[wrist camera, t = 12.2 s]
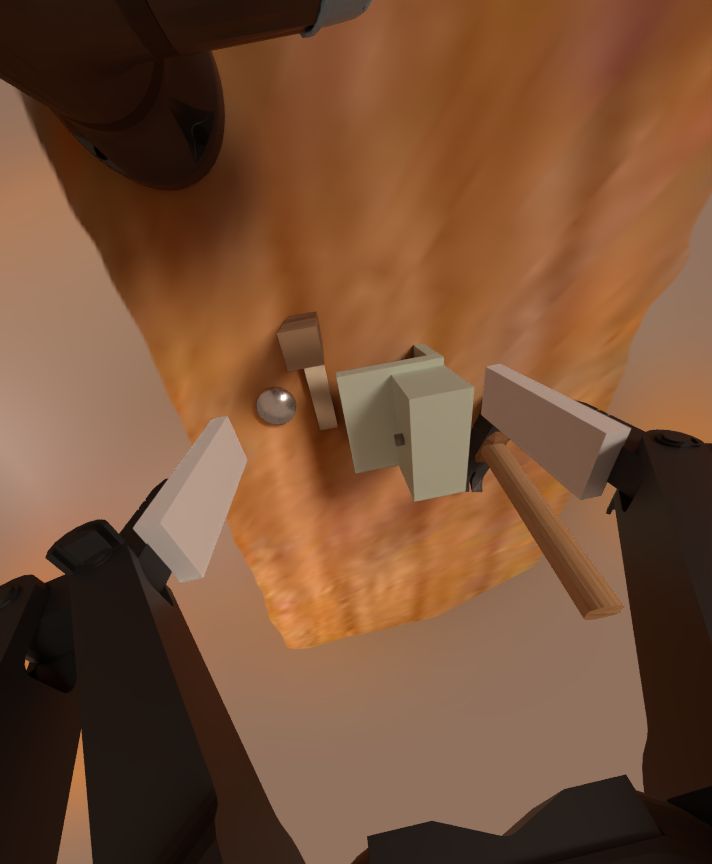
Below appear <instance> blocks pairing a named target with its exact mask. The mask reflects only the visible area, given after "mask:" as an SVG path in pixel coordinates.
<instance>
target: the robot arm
mask: <svg viewBox="0 0 712 864" xmlns="http://www.w3.org/2000/svg"><path fill="white" fill-rule="evenodd" d="M371 1H372V0H0V78H1V79H3V80H4V81H6V82H8V83H9V84H11V85H12V86H14V87H16V88H17V89H19V90H21V91H22V92H24V93H26V94H27V95H29V96H31V97H32V98H34V99H36V100H37V101H39V102H41V103H42V104H44V105H46V106H47V107H49V108H50V109H51V110H52V111H53V112H54V114H55V115H56V116H57V117H58V118H59V119H60V121H61V122H62V123H63V124H64V125H65V126H66V128H67V129H68V130H69V131H70V132H71V133H72V135H73V136H74V137H75V138H76V139H77V140H78V141H79V142H80V143H81V144H82V145H83V146H84V147H85V148H86V149H87V150H88V151H89V152H91V153H92V154H93V155H94V156H95V157H97V158H98V159H99V160H100V161H101V162H103V163H104V164H106V165H107V166H108V167H110V168H111V169H113V170H115V171H116V172H118V173H120V174H122V175H124V176H125V177H127V178H129V179H131V180H133V181H135V182H137V183H140V184H142V185H145V186H148V187H151V188H155V189H161V190H177V189H182V188H185V187H188V186H191V185H193V184H194V183H196V182H198V181H199V180H200V179H202V178H203V177H204V176H205V175H206V174H207V173H208V171H209V170H210V169H211V167H212V166H213V164H214V162H215V160H216V158H217V156H218V153H219V151H220V147H221V144H222V139H223V133H224V123H225V111H224V98H223V91H222V86H221V81H220V77H219V72H218V69H217V66H216V62H215V60H214V57H213V54H212V50H218V49H223V48H228V47H233V46H238V45H243V44H248V43H253V42H258V41H263V40H269V39H274V38H279V37H284V36H289V35H294V34H299V33H300V35H301V36H302V37H303V38H307V37H311V36H314V35H315V34H316V33H317V32H318V31H319V30H320V29H321V28H323V27H327V26H331V25H334V24H338V23H341V22H345V21H349V20H352V19H355V18H357V17H358V16H360V15H361V14H362V13H364V12H365V11H366V9H367V8H368V6H369V5H370V3H371ZM481 415H482V416H483V417H484V418H486V419H487V420H488V421H489V422H490V423H491V424H493V425H494V426H495V427H496V428H497V429H498V430H500V431H501V432H502V433H503V434H504V435H505V436H506V437H508V438H509V439H510V440H511V441H512V442H513V443H515V444H516V445H517V446H518V447H519V448H520V449H522V450H523V451H524V452H525V453H526V454H527V455H529V456H530V457H531V458H532V459H533V460H534V461H536V462H537V463H538V464H539V465H540V466H541V467H542V468H544V469H545V470H546V471H547V472H548V473H549V474H551V475H552V476H553V477H554V478H555V479H556V480H558V481H559V482H560V483H561V484H562V485H563V486H565V487H566V488H567V489H568V490H569V491H570V492H571V493H573V494H574V495H575V496H576V497H577V498H579V499H580V500H583V499H588V498H592V497H597V496H601V495H602V493H603V491H604V488H605V486H606V484H607V482H608V483H610V484H611V485H613V486H614V487H615V488H617V490H616V492H615V494H614V496H613V498H612V500H611V502H610V505H609V507H608V508H607V512H606V513H607V514H611V512H612V510H614V509H615V510H616V518H617V524H618V531H619V538H620V544H621V550H622V557H623V563H624V570H625V577H626V584H627V591H628V597H629V604H630V611H631V617H632V624H633V631H634V637H635V644H636V649H637V650H636V651H637V656H638V664H639V670H640V677H641V684H642V690H643V697H644V703H645V710H646V717H647V726H648V734H647V741H646V745H645V749H644V753H643V764H642V765H643V766H642V771H643V785H644V793H643V792H640V791H636V790H635V788H634V787H633V785H632V783H631V782H630V780H629V779H628V777H627V775H622V776H618V777H613V778H609V779H605V780H601V781H597V782H593V783H588V784H584V785H581V786H576V787H572V788H568V789H564V790H562V791H560V792H559V793H557V794H556V795H554V796H553V797H551V798H550V799H548V800H546V801H544V802H543V803H542V804H540V805H538V806H536V807H535V808H533V809H532V810H531V811H529V812H528V813H527V814H526V815H525V816H524V817H523V818H521V819H520V820H519V821H518V822H517V823H516V824H515V825H513V826H512V827H511V828H510V829H509V830H508V831H507V832H506V833H504V834H503V835H502V836H499V835H495V834H489V833H485V832H481V831H476V830H471V829H467V828H462V827H458V826H453V825H449V824H444V823H439V822H435V821H429V822H425V823H421V824H417V825H413V826H408V827H404V828H400V829H396V830H392V831H387V832H383V833H379V834H375V835H371V836H367V839H368V848H367V849H366V850H365V851H363V852H362V853H361V854H360V855H359V856H357V858H356V859H355V860H354V861H353V862H352V863H351V864H712V444H711V443H709V444H707V443H704V442H703V441H701V440H699V439H697V438H695V437H693V436H690V435H687V434H684V433H681V432H676V431H670V430H650V431H647V432H645V431H643V430H641V429H638V428H636V427H634V426H632V425H630V424H628V423H626V422H624V421H622V420H620V419H618V418H616V417H614V416H612V415H608V414H607V413H605V412H603V411H601V410H598V409H597V408H595V407H593V406H591V405H589V404H587V403H584V402H580V401H576V400H573V399H571V398H569V397H567V396H565V395H563V394H561V393H559V392H557V391H555V390H552V389H550V388H548V387H546V386H544V385H542V384H540V383H538V382H536V381H534V380H532V379H530V378H528V377H526V376H524V375H522V374H520V373H518V372H516V371H514V370H512V369H510V368H508V367H506V366H504V365H502V364H497V365H492V366H487V367H486V371H485V380H484V390H483V400H482V409H481ZM246 463H247V458H246V456H245V454H244V451H243V449H242V447H241V445H240V442H239V440H238V438H237V436H236V434H235V431H234V429H233V427H232V425H231V423H230V420H229V418H228V416H224V417H219V418H213V419H211V421H210V422H209V423H208V425H207V426H206V428H205V429H204V430H203V432H202V433H201V435H200V436H199V437H198V439H197V440H196V441H195V443H194V444H193V446H192V447H191V448H190V450H189V451H188V453H187V454H186V455H185V457H184V458H183V460H182V461H181V462H180V464H179V465H178V466H177V468H176V469H175V470H174V472H173V473H172V475H171V476H170V477H169V478H168V479H165V480H163V481H162V482H161V483H160V484H159V485H157V486H156V487H155V488H154V489H153V490H152V491H151V493H150V494H149V495H148V497H147V498H146V501H144V502H143V503H142V504H141V506H140V507H139V510H137V511H136V512H135V514H134V515H133V516H132V518H131V519H130V521H129V522H128V523H127V524H126V525H125V527H124V528H123V530H122V531H121V532H120V533H119V534H118V533H117V531H116V530H115V529H114V528H113V527H112V526H111V525H110V524H109V523H108V522H107V521H106V520H95V521H91V522H87V523H85V524H83V525H81V526H79V527H76V528H75V529H73V530H72V531H70V532H68V533H67V534H65V535H64V536H63V537H62V538H60V539H59V540H58V541H56V542H55V543H54V545H53V546H52V547H51V548H50V549H49V550H48V552H47V555H46V559H47V560H49V561H50V562H51V563H52V564H54V565H55V566H56V567H57V568H59V569H60V570H61V571H62V572H64V573H65V575H63V576H61V577H58V578H56V579H53V580H51V581H49V582H46V583H44V582H42V581H41V580H39V579H38V578H37V577H35V576H34V575H24V576H21V577H18V578H15V579H13V580H11V581H9V582H7V583H5V584H3V585H1V586H0V864H56V862H57V858H58V852H59V846H60V841H61V835H62V830H63V825H64V819H65V814H66V809H67V803H68V798H69V792H70V787H71V781H72V776H73V770H74V765H75V759H76V754H77V748H78V743H79V738H80V732H81V730H82V741H83V753H84V765H85V776H86V788H87V800H88V810H89V823H90V835H91V847H92V858H93V864H305V862H304V860H303V858H302V856H301V854H300V852H299V850H298V848H297V847H296V845H295V843H294V842H293V840H292V838H291V837H290V835H289V834H288V833H287V832H286V830H285V829H284V828H283V826H282V825H281V823H280V822H279V820H278V818H277V817H276V815H275V813H274V811H273V809H272V807H271V804H270V802H269V800H268V798H267V796H266V794H265V792H264V789H263V787H262V785H261V783H260V781H259V778H258V776H257V774H256V772H255V770H254V768H253V766H252V764H251V761H250V759H249V757H248V755H247V753H246V750H245V748H244V746H243V744H242V742H241V740H240V738H239V735H238V733H237V731H236V729H235V727H234V725H233V722H232V720H231V718H230V716H229V714H228V712H227V709H226V707H225V705H224V703H223V701H222V699H221V697H220V694H219V692H218V690H217V688H216V686H215V684H214V681H213V679H212V677H211V675H210V673H209V671H208V668H207V667H206V664H205V662H204V660H203V658H202V656H201V653H200V651H199V649H198V647H197V645H196V643H195V640H194V638H193V636H192V634H191V632H190V630H189V627H188V626H187V624H186V621H185V619H184V617H183V615H182V612H181V610H180V608H179V606H178V604H177V602H176V599H175V597H174V595H173V593H172V591H171V589H170V588H169V587H168V586H167V585H166V583H167V580H168V579H169V577H170V574H171V573H172V574H173V575H174V576H175V577H176V578H177V579H178V581H179V582H180V583H182V582H186V581H192V580H196V579H201V578H204V575H205V572H206V569H207V567H208V564H209V562H210V559H211V556H212V554H213V551H214V548H215V546H216V543H217V540H218V538H219V535H220V532H221V529H222V527H223V524H224V521H225V519H226V516H227V514H228V511H229V508H230V506H231V503H232V500H233V498H234V495H235V492H236V490H237V487H238V484H239V481H240V479H241V476H242V473H243V471H244V468H245V465H246ZM25 659H26V660H28V661H29V665H28V668H27V670H26V668H25Z"/></svg>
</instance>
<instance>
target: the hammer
mask: <svg viewBox="0 0 712 864" xmlns="http://www.w3.org/2000/svg"><path fill="white" fill-rule="evenodd" d="M509 440H510V439H509V438H508V437H506V436H505V435H504V434H503V433H502V432H501V431H500V430H498V429H497V428H496V427H495V426H494V425H493V424H491V423H490V422H489V421H488V420H487V419H486V418H484V417H483V416H482V415H481V414H480V416H479V418H478V420H477V421H476V423H475V425H474V427H473V429H472V431H471V434H470V445H469V457H468V468H467V480H466V491H465V492H469V482H470V485H471V490H472V492H482V481H483V477H484V475H485V474H486V472H487V471H488V469H489V468H490V469H491V470H492V472H493V473H494V475H495V477H496V478H497V480H498V481H499V483H500V485H501V486H502V488H503V489H504V491H505V493H506V494H507V496H508V498H509V499H510V501H511V502H512V504H513V506H514V507H515V509H516V510H517V512H518V514H519V515H520V517H521V518H522V520H523V522H524V523H525V525H526V526H527V528H528V530H529V531H530V533H531V534H532V536H533V538H534V539H535V541H536V543H537V544H538V546H539V547H540V549H541V551H542V552H543V554H544V555H545V557H546V559H547V560H548V562H549V563H550V565H551V567H552V568H553V570H554V571H555V573H556V575H557V576H558V578H559V579H560V581H561V583H562V584H563V586H564V587H565V589H566V591H567V592H568V594H569V596H570V597H571V599H572V600H573V602H574V604H575V605H576V607H577V608H578V610H579V612H580V613H581V615H582V616H583V618H584V619H586V620H591V619H598V618H603V617H607V616H611V615H614V614H617V613H620V611H621V609H622V608H624V605H623V604H622V602H621V601H620V600H619V598H618V597H617V596H616V594H615V593H614V591H613V590H612V589H611V587H610V586H609V585H608V583H607V582H606V581H605V579H604V578H603V577H602V576H601V574H600V573H599V571H598V570H597V569H596V567H595V566H594V564H593V563H592V562H591V560H590V559H589V558H588V556H587V555H586V554H585V552H584V551H583V550H582V548H581V547H580V546H579V544H578V543H577V541H576V540H575V539H574V537H573V536H572V535H571V534H570V532H569V531H568V530H567V528H566V527H565V526H564V524H563V523H562V521H561V520H560V518H559V517H558V516H557V514H556V513H555V512H554V510H553V509H552V508H551V506H550V505H549V504H548V502H547V501H546V500H545V498H544V497H543V496H542V494H541V493H540V491H539V490H538V489H537V487H536V486H535V485H534V483H533V482H532V481H531V479H530V478H529V477H528V475H527V474H526V473H525V471H524V470H523V469H522V467H521V466H520V464H519V463H518V462H517V460H516V459H515V458H514V456H513V455H512V454H511V452H510V451H509V450H508V448H507V447H506V446H505V445H506V444H507V442H508V441H509Z"/></svg>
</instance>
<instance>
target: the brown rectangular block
mask: <svg viewBox="0 0 712 864" xmlns="http://www.w3.org/2000/svg"><path fill="white" fill-rule="evenodd" d="M277 337H278V340H279V343H280V347H281V350H282V353H283V357H284V360H285V364H286V367H287V370H288V372H290V371H295V370H300V369H304V370H305V374H306V378H307V382H308V386H309V389H310V393H311V397H312V401H313V405H314V408H315V412H316V416H317V420H318V424H319V427H320V431H321V430H326V429H331V428H336V427H338V425H337V420H336V416H335V411H334V406H333V402H332V397H331V393H330V388H329V384H328V379H327V375H326V370H325V366H324V353H323V341H322V336H321V332H320V327H319V322H318V318H317V313H316V312H312V313H306V314H301V315H296V316H290V317H287V319H286V320H285V322H284V323H283V325H282V326H281V328H280V329H279V331H278V332H277Z"/></svg>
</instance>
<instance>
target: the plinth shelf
mask: <svg viewBox="0 0 712 864" xmlns="http://www.w3.org/2000/svg"><path fill="white" fill-rule="evenodd" d="M413 347H414V358H410V359H405V360H399V361H394V362H389V363H384V364H378V365H373V366H368V367H362V368H357V369H352V370H346V371H341V372H336V377H337V382H338V387H339V393H340V398H341V403H342V408H343V413H344V418H345V423H346V428H347V433H348V438H349V443H350V448H351V454H352V459H353V464H354V469H355V474H357V473H362V472H367V471H372V470H377V469H382V468H387V467H392V466H397V465H399V467H400V469H401V471H402V474H403V476H404V478H405V481H406V483H407V485H408V488H409V490H410V492H411V495H412V497H413V499H414V502H416V501H420V500H425V499H430V498H435V497H440V496H445V495H450V494H455V493H460V492H465V491H466V480H467V468H468V457H469V445H470V433H471V421H472V409H473V397H474V386H472V385H471V384H470V383H468V382H467V381H465V380H464V379H463V378H461V377H460V376H458V375H457V374H456V373H454V372H453V371H452V370H450V369H449V368H447V367H446V366H445V365H444V357H443V356H441V355H440V354H438V353H437V352H435V351H434V350H432V349H431V348H429V347H428V346H426V345H425V344H423V343H422V344H417V345H413Z"/></svg>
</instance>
